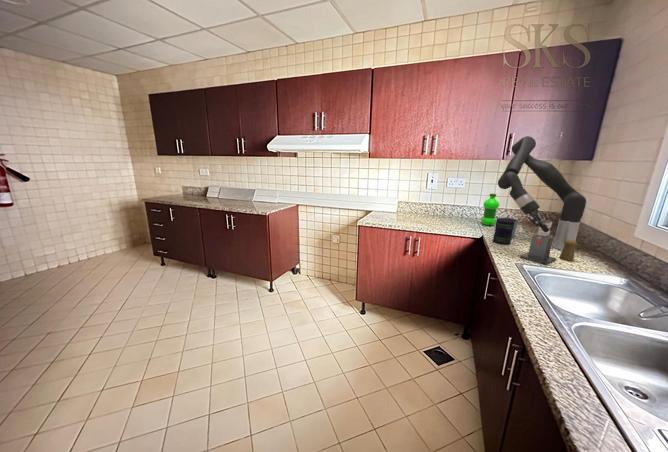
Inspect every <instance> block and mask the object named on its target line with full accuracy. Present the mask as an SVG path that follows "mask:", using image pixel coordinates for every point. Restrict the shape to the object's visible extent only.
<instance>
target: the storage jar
mask: <svg viewBox="0 0 668 452" xmlns="http://www.w3.org/2000/svg"><path fill="white" fill-rule="evenodd" d="M505 218H506V217H500V218H496V222H495V227H494V228H495V229H494V233H493V237H492V242H493V243H494V244H497V245H501V246H509V245H511V242H512V239H513V238H512V231H513V229H514V223H515V221H514V220H511V219H505Z"/></svg>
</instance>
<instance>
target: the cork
mask: <svg viewBox="0 0 668 452" xmlns="http://www.w3.org/2000/svg"><path fill="white" fill-rule="evenodd" d="M564 245H565V246H564V248H563V250H561V252H560V254H559V256H558V259H559V260H561V261H564V262H572V263H573V262H574V260H575V249H576V248H575V247H577V245H578V242H577V241H576V240H570V239H567V240H565V241H564Z"/></svg>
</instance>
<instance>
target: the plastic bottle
mask: <svg viewBox="0 0 668 452" xmlns="http://www.w3.org/2000/svg"><path fill="white" fill-rule="evenodd" d="M496 197H497V193H489V198H488V199H485V201H484V202H483V207H484V210H483V211H484V213H483V217H482V218H481V221H480V222H481V223H482V224H483V225H484V226H486V225H492V226H494V224H495V225H496V221H497V218H496V214H497V209H499V207H500V202H499V201H498V200H497V199H496Z"/></svg>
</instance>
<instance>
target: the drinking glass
mask: <svg viewBox="0 0 668 452" xmlns="http://www.w3.org/2000/svg"><path fill="white" fill-rule="evenodd" d="M504 218H505V219H511V220H514V221H515V223H514V229H513V231H512V239H513V238H514V237H515V234H516V231H517V228H518V227H517V226H518V225H519V219H516V218H513V217H504Z"/></svg>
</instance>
